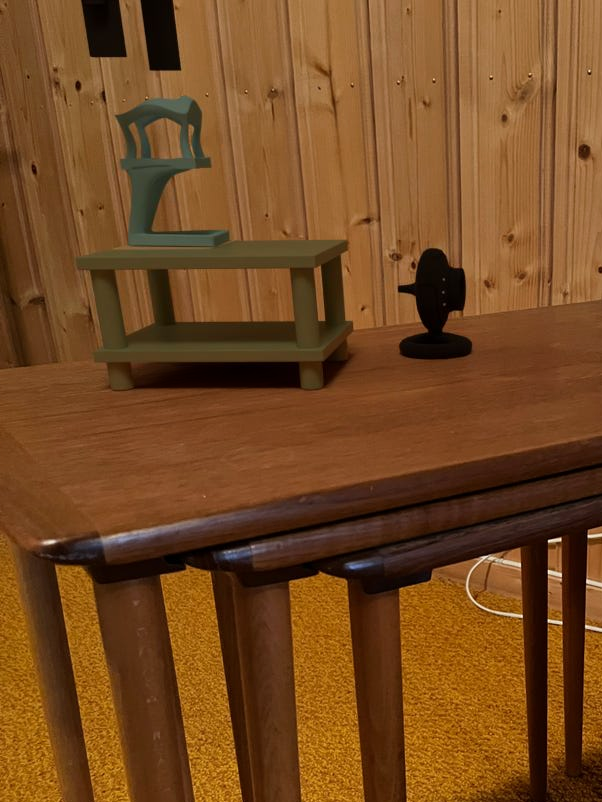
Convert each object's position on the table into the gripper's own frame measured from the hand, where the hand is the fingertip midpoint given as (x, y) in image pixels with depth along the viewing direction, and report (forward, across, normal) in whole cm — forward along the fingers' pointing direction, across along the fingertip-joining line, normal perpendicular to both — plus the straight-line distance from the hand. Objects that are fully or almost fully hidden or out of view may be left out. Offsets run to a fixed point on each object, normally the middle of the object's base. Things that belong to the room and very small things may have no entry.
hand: (139, 64), depth 83 cm
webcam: (+25, +8, -24) cm, 36 cm away
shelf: (+25, -2, -6) cm, 26 cm away
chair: (+14, +1, -1) cm, 14 cm away
